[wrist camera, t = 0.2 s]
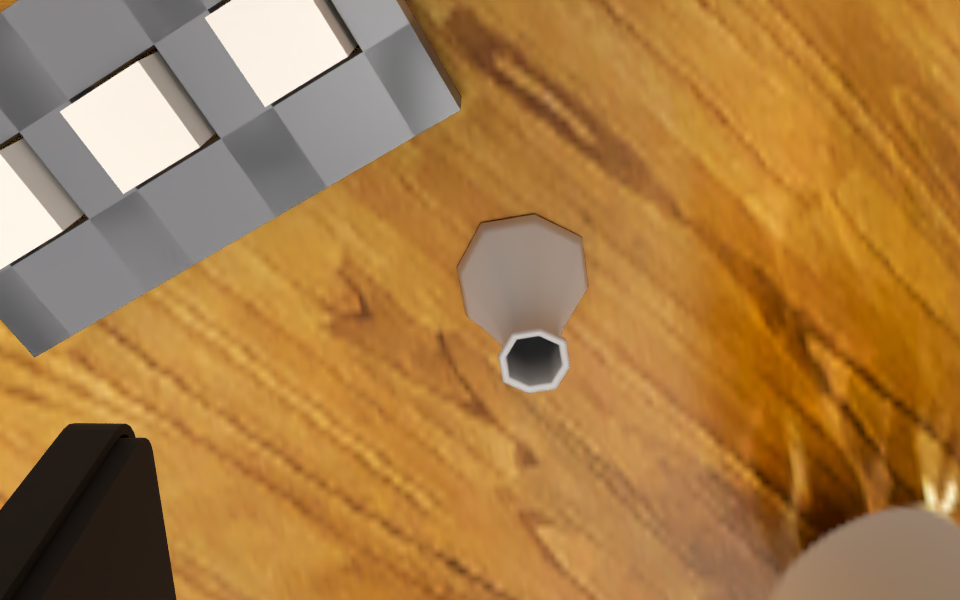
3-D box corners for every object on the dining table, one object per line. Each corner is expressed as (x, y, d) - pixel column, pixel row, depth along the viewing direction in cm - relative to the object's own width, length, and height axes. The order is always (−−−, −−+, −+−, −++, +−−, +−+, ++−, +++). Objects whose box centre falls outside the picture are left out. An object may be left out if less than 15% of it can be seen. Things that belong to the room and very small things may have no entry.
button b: (91, 95, 43) (59, 111, 39) (164, 48, 42) (137, 60, 38) (149, 172, 44) (123, 194, 41) (220, 128, 43) (200, 147, 40)
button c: (226, 8, 41) (204, 17, 38) (304, -43, 40) (289, -38, 37) (281, 91, 43) (265, 107, 39) (357, 44, 42) (347, 56, 38)
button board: (-129, 115, 44) (-169, 129, 42) (300, -180, 39) (287, -186, 36) (58, 332, 49) (34, 357, 47) (461, 97, 44) (460, 110, 41)
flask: (466, 202, 46) (465, 276, 37) (601, 222, 47) (632, 299, 38) (447, 325, 49) (442, 421, 40) (574, 342, 50) (597, 441, 41)
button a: (-34, 176, 44) (-75, 198, 41) (34, 132, 43) (-2, 151, 40) (26, 247, 46) (-8, 274, 42) (93, 206, 45) (63, 231, 42)
